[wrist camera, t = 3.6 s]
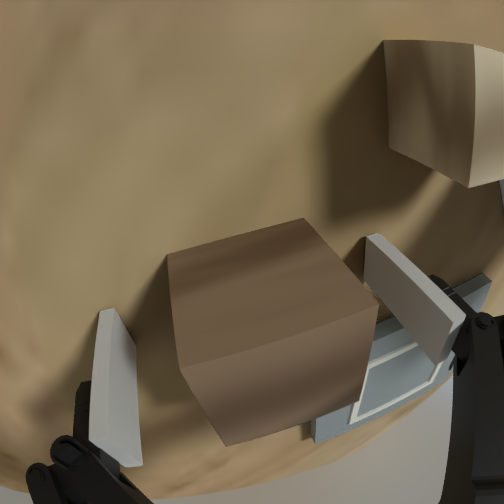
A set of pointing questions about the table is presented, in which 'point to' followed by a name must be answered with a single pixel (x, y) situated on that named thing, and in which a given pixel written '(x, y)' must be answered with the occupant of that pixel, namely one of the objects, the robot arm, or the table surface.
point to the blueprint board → (395, 371)
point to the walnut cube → (269, 329)
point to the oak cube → (447, 107)
